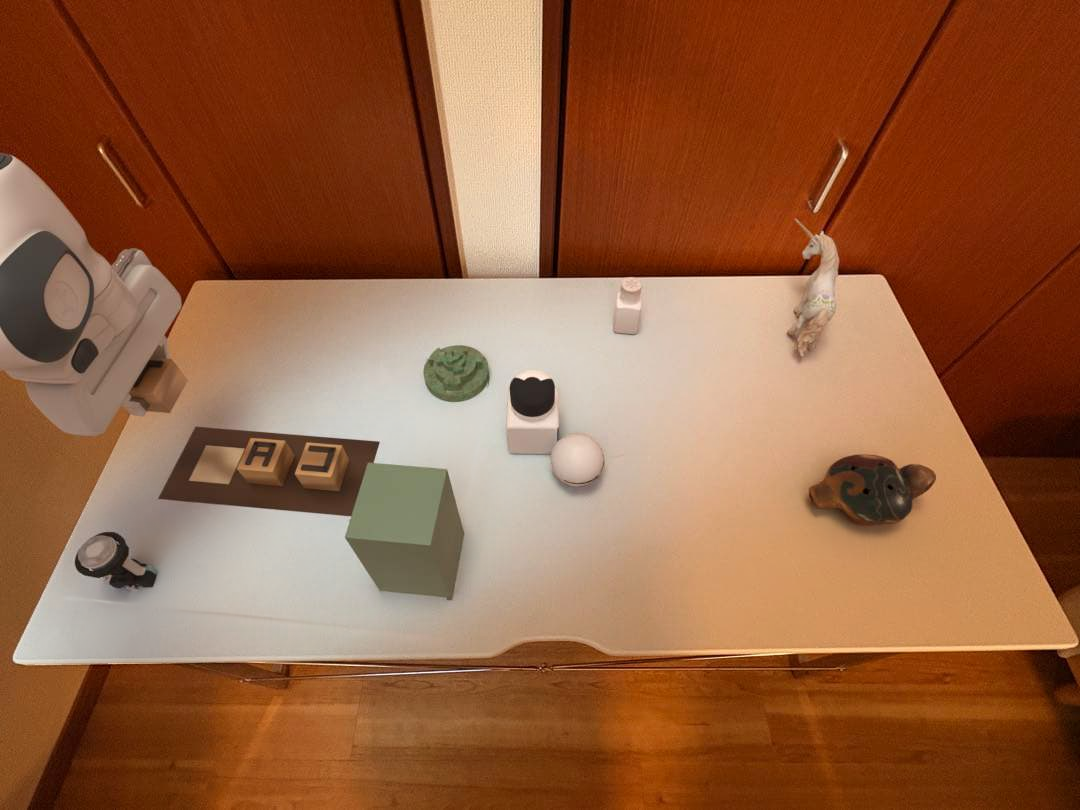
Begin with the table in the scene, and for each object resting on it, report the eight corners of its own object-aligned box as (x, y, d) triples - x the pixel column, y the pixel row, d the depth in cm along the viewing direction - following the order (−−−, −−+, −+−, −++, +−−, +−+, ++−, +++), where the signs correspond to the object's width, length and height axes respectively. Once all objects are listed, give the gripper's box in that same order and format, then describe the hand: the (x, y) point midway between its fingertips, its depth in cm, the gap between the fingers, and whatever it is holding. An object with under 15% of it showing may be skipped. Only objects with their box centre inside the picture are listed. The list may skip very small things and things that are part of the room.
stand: (451, 600, 76) (430, 545, 62) (381, 593, 77) (344, 537, 63) (464, 533, 81) (447, 468, 68) (398, 527, 82) (367, 462, 68)
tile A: (283, 486, 85) (271, 470, 81) (248, 483, 85) (235, 467, 82) (295, 455, 88) (284, 439, 84) (261, 452, 88) (249, 436, 85)
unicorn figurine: (811, 281, 109) (840, 218, 98) (837, 366, 97) (873, 305, 87) (770, 280, 109) (794, 218, 98) (791, 364, 98) (822, 304, 87)
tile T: (170, 413, 72) (150, 391, 69) (129, 410, 73) (108, 388, 69) (188, 379, 75) (170, 357, 72) (149, 377, 75) (130, 354, 72)
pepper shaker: (614, 316, 104) (619, 274, 97) (637, 318, 104) (645, 276, 96) (612, 333, 102) (617, 291, 94) (636, 336, 102) (644, 294, 94)
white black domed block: (558, 455, 88) (559, 406, 79) (508, 454, 88) (503, 406, 79) (557, 414, 93) (559, 363, 83) (510, 414, 93) (506, 363, 83)
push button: (101, 602, 76) (49, 573, 68) (117, 561, 80) (69, 529, 72) (155, 601, 77) (109, 571, 68) (169, 560, 80) (126, 527, 72)
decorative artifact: (497, 395, 95) (480, 349, 100) (494, 366, 89) (476, 319, 95) (433, 412, 93) (420, 364, 99) (426, 384, 87) (412, 335, 93)
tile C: (339, 491, 84) (330, 475, 81) (304, 488, 85) (293, 472, 81) (349, 460, 87) (341, 443, 84) (315, 457, 87) (305, 441, 84)
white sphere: (548, 494, 85) (548, 467, 79) (552, 449, 89) (552, 420, 83) (620, 500, 84) (626, 473, 78) (621, 454, 88) (626, 425, 82)
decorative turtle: (929, 524, 81) (960, 500, 75) (819, 546, 81) (839, 523, 74) (894, 460, 87) (920, 432, 80) (790, 480, 86) (807, 453, 79)
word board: (358, 520, 83) (356, 516, 82) (161, 502, 85) (157, 498, 84) (381, 445, 90) (379, 441, 89) (198, 430, 92) (195, 425, 91)
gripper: (105, 237, 68) (168, 323, 79) (-10, 383, 56) (84, 460, 67) (159, 240, 67) (215, 326, 79) (55, 388, 56) (138, 464, 67)
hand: (154, 389), depth 73 cm, fingers closed on tile T, 5 cm apart
